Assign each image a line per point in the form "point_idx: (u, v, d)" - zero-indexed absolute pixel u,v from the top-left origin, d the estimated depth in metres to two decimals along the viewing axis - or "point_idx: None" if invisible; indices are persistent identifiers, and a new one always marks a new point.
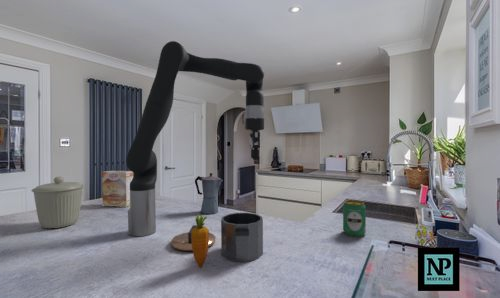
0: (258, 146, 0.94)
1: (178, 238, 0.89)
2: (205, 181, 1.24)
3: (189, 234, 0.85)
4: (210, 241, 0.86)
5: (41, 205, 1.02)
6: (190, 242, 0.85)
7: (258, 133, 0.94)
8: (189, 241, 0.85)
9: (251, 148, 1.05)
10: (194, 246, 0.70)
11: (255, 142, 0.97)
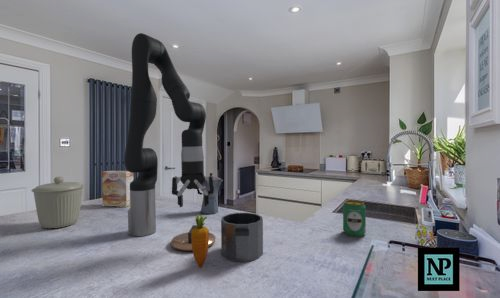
0: (213, 190, 0.89)
1: (178, 238, 0.89)
2: (205, 181, 1.24)
3: (189, 234, 0.85)
4: (210, 241, 0.86)
5: (41, 205, 1.02)
6: (190, 242, 0.85)
7: (212, 177, 0.89)
8: (189, 241, 0.85)
9: (180, 195, 0.87)
10: (194, 246, 0.70)
11: (204, 187, 0.88)
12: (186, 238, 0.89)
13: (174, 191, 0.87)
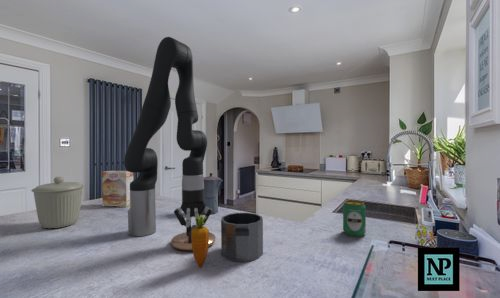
0: None
1: (178, 238, 0.89)
2: (205, 181, 1.24)
3: (189, 234, 0.85)
4: (210, 241, 0.86)
5: (41, 205, 1.02)
6: (190, 242, 0.85)
7: (211, 210, 0.90)
8: (189, 241, 0.85)
9: (189, 226, 0.88)
10: (194, 246, 0.70)
11: None
12: (186, 238, 0.89)
13: (183, 222, 0.87)
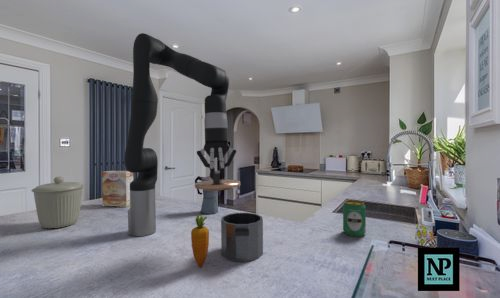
0: None
1: (201, 182, 0.85)
2: None
3: (214, 175, 0.80)
4: (236, 183, 0.82)
5: (41, 205, 1.02)
6: (215, 183, 0.80)
7: None
8: (214, 182, 0.80)
9: (213, 168, 0.83)
10: (194, 246, 0.70)
11: (223, 159, 0.84)
12: (210, 182, 0.85)
13: (207, 163, 0.83)
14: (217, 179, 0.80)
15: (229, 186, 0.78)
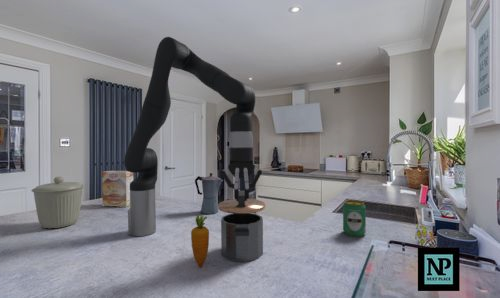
0: None
1: (224, 203, 0.81)
2: (205, 181, 1.24)
3: (239, 197, 0.77)
4: (261, 205, 0.79)
5: (41, 205, 1.02)
6: (240, 206, 0.77)
7: None
8: (239, 204, 0.77)
9: (237, 188, 0.80)
10: (194, 246, 0.70)
11: None
12: (233, 203, 0.81)
13: (231, 184, 0.80)
14: (242, 201, 0.77)
15: (255, 210, 0.75)
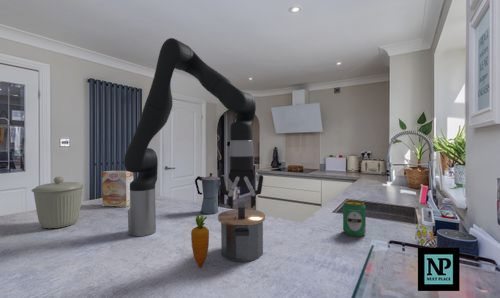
0: None
1: (224, 214, 0.82)
2: (205, 181, 1.24)
3: (239, 209, 0.77)
4: (261, 217, 0.79)
5: (41, 205, 1.02)
6: (240, 217, 0.77)
7: (262, 176, 0.82)
8: (239, 216, 0.77)
9: (231, 195, 0.80)
10: (194, 246, 0.70)
11: None
12: (233, 214, 0.82)
13: (225, 191, 0.80)
14: (242, 213, 0.77)
15: (255, 222, 0.75)
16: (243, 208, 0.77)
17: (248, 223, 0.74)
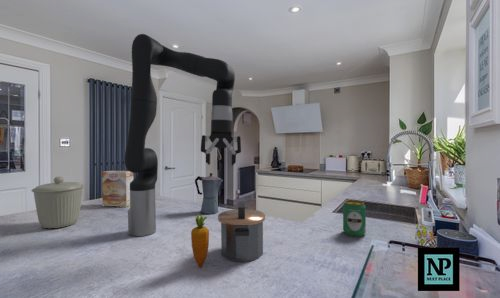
0: None
1: (224, 214, 0.82)
2: (205, 181, 1.24)
3: (239, 209, 0.77)
4: (261, 217, 0.79)
5: (41, 205, 1.02)
6: (240, 217, 0.77)
7: (240, 137, 0.92)
8: (239, 216, 0.77)
9: (208, 153, 0.90)
10: (194, 246, 0.70)
11: None
12: (233, 214, 0.82)
13: (203, 149, 0.90)
14: (242, 213, 0.77)
15: (255, 222, 0.75)
16: (243, 208, 0.77)
17: (248, 223, 0.74)
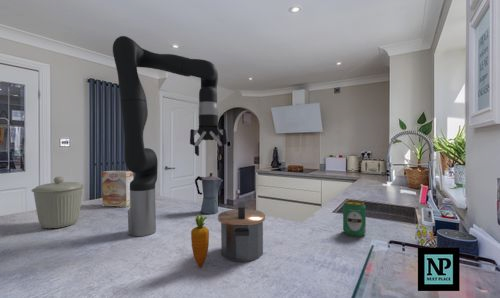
0: (226, 142, 1.01)
1: (224, 214, 0.82)
2: (205, 181, 1.24)
3: (239, 209, 0.77)
4: (261, 217, 0.79)
5: (41, 205, 1.02)
6: (240, 217, 0.77)
7: None
8: (239, 216, 0.77)
9: (197, 145, 0.99)
10: (194, 246, 0.70)
11: (218, 139, 1.00)
12: (233, 214, 0.82)
13: (192, 141, 0.99)
14: (242, 213, 0.77)
15: (255, 222, 0.75)
16: (243, 208, 0.77)
17: (248, 223, 0.74)
